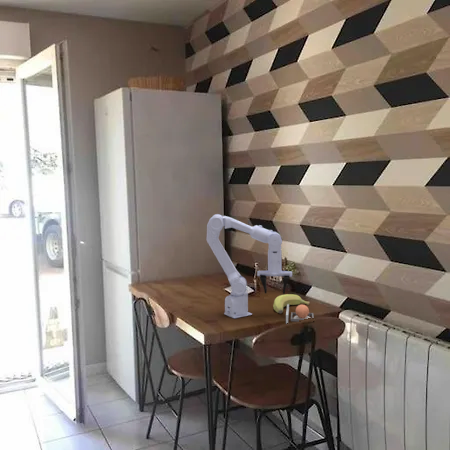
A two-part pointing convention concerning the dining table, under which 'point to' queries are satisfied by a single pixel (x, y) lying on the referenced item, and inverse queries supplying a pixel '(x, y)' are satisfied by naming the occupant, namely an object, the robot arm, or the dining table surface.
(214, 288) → the dining table surface
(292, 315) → the grey square frame
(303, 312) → the ball
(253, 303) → the dining table surface
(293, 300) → the banana
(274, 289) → the dining table surface
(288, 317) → the acrylic wall
